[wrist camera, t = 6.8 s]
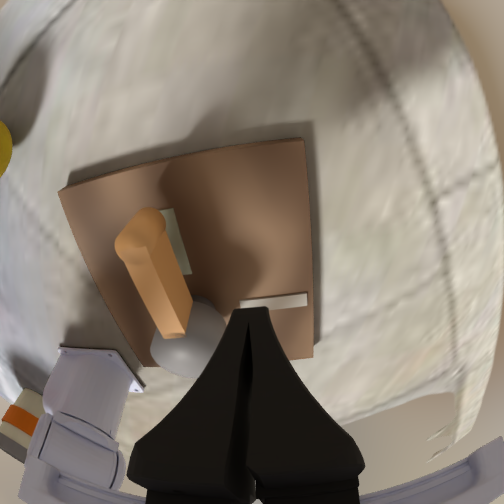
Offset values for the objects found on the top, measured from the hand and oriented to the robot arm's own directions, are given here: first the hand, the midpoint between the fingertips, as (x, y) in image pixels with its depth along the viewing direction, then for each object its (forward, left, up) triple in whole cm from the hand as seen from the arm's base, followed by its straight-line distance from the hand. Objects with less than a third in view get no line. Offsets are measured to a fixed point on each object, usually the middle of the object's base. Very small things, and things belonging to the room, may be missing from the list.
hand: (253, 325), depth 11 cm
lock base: (-5, -4, -9) cm, 11 cm away
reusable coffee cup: (-47, -31, -10) cm, 57 cm away
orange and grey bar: (-5, -3, -6) cm, 9 cm away
